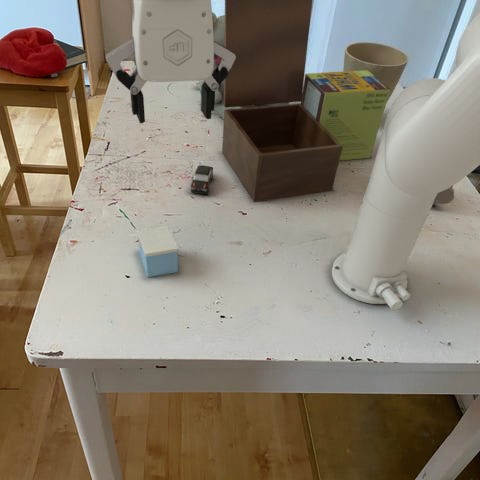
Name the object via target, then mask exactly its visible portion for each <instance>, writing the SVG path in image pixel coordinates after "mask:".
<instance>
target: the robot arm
mask: <svg viewBox="0 0 480 480" xmlns="http://www.w3.org/2000/svg"><path fill="white" fill-rule="evenodd" d="M212 7H213V6H212V0H132V17H131V18H132V19H131V20H132V21H131V22H132V25H131V26H132V27H131V28H132V29H131V31H132V36H131V37H132V38H130V39H129V40H126V42H124V43H123V44H121V45H119V46H117V47H116V48H114V49H112V50H111V51H109V52H107V53H106V54H105V60H106V62H107V64H108V66H109V68H110V70H111V71H112V73H113V74H114V76H115V77H116V79H117V81H118V82H119V83H121V84H122V85H123V86H124V87H125V88H126V89H128V91H129V92H130V104H131V113H132V115H133V116H136V118H137V120H138V123H139V124H144V123H146V115H145V114H146V113H145V101H144V100H145V99H144V98H145V97H144V94H143V90H142V88H143V87H144V85H146V83H147V82H149V83H170V82H198V81H197V80H204V83H203V85H201V92H200V111H201V113H202V115H203V117H204V118H205V119H206V120H211V119H212V111H214V106H215V91H216V90H217V89H218V87H219V84H220V83H221V82H222V81H223V80H224V79H225V78H226V77H227V76H228V72H229V70H230V69H231V67H232V65H233V63H234V61H235V59H236V56H235V54H234V53H233V52H232V51H231V50H229V49H228V48H226V47H224V46H223V45H221V44H219V43H218V42H216V41H214V40H213V20H212V12H213V9H212ZM214 54H216V55H218V56H219V57H221V58H222V60H221V63H220V65H219V66H218V67H217V68H216V69H215V70H214V71H213V67H214ZM130 57H132V59H133V63H134V66H135V68H134V69H133V70H132V72H131V73H130V74H129V73H128V72H127V71H126V70H125V69H124V68H123V67H122V65H121V63H122V62H123V61H125V60H127V59H128V58H130ZM455 65H456V69H455V70H454V71H453V72H452V73H451V74H450V75H449V76H448V77H447V78H446V80H445V79H441V78H436V77H429V78H423V79H419V80H417V81H415V82H413V83H411V84H410V85H407V87H405V88H404V89H403V90H402V91H401V92H400V93H399V94H398V95H397V96H396V97H395V99H394V101H393V103H392V104H391V105H390V108H389V111H388V113H387V114H386V119H385V122H384V124H383V125H384V126H383V130H382V134H381V137H380V141H379V145H378V148H377V153H376V156H375V160H374V163H373V166H372V170H371V173H370V176H369V180H368V182H367V186H366V189H365V191H364V195H363V199H362V201H361V205H360V208H359V211H358V213H357V214H358V215H357V218H356V220H355V224H354V227H353V230H352V234H351V236H350V239H349V243H348V245H347V249H346V252H344V253H342V254H340V255H338V256H337V257H336V259H334V262H333V264H332V268H331V277H332V280H333V282H334V284H335V285H336V287H337V288H338V289H339V290H340V291H341V292H342V293H344V294H345V295H346V296H348V297H350V298H351V299H354V300H357V301H359V302H363V303H366V304H371V305H384V304H387V306H388V307H389V308H390V310H392V311H397V310H399V309H401V307H402V306H403V302H405V301H407V300H409V299H410V297H411V293H409V292H408V290H407V287H408V277H407V276H408V275H407V273H406V272H405V268H406V265H407V263H408V261H409V258H410V256H411V254H412V252H413V249H414V247H415V245H416V242H417V240H418V238H419V236H420V233H421V231H422V229H423V227H424V224H425V222H426V220H427V218H428V215H429V213H430V212H431V210H432V208H433V207H432V205H433V204H434V202H435V201H436V200H435V198H436V196H437V193H439V192H442V191H444V190H446V189H448V188H450V187H452V186H453V187H454V186H455V185H457V184H458V183H459V182H461V181H462V180H463V179H465V178H466V177H467V176H468V175H470V174H471V173H472V172H473V171H475V170H476V169H477V168H478V167H479V166H480V12H479V13H478V14H477V15H476V16H475V17H474V18H473V19H472V20H471V22H470V23H469V24H468V25H467V26H466V28H465V29H464V30H463V32H462V35H461V36H460V39H459V40H458V43H457V47H456V52H455ZM453 187H452V188H453Z"/></svg>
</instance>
